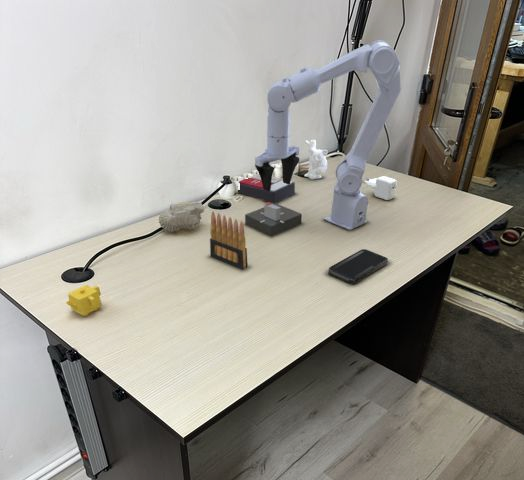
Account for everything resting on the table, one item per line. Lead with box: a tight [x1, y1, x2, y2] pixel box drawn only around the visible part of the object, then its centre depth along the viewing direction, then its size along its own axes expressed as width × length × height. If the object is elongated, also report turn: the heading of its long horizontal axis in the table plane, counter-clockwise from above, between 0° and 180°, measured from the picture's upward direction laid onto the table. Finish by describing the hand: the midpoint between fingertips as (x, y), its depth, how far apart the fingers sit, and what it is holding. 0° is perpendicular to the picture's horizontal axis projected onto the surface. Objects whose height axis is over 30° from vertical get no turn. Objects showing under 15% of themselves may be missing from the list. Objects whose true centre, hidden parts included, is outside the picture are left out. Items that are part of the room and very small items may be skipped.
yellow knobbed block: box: [65, 284, 102, 317], centre depth 104 cm, size 8×6×5 cm
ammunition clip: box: [209, 210, 249, 271], centre depth 119 cm, size 11×2×12 cm, turn 52°
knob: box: [263, 202, 281, 221], centre depth 135 cm, size 5×2×4 cm, turn 44°
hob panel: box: [244, 202, 303, 238], centre depth 139 cm, size 11×12×3 cm
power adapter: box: [362, 175, 398, 201], centre depth 156 cm, size 11×5×6 cm, turn 44°
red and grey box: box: [237, 173, 296, 204], centre depth 157 cm, size 11×4×15 cm
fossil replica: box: [158, 201, 205, 233], centre depth 135 cm, size 12×8×10 cm
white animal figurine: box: [304, 139, 329, 180], centre depth 166 cm, size 8×7×12 cm
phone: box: [327, 248, 389, 285], centre depth 120 cm, size 8×1×15 cm
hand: (276, 186), depth 137 cm, fingers open, 7 cm apart
